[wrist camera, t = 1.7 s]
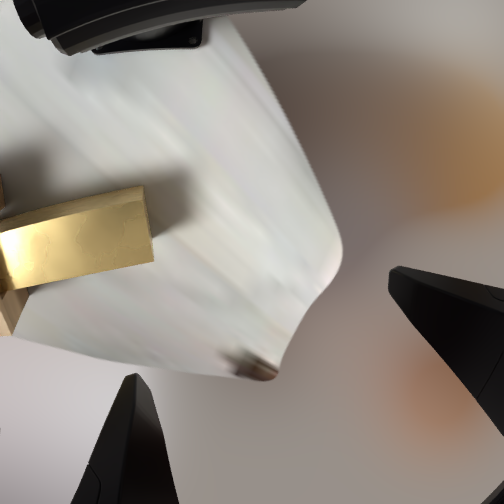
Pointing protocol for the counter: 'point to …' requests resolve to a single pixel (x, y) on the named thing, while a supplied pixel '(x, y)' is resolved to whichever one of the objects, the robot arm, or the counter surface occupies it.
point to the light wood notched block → (10, 298)
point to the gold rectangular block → (75, 239)
